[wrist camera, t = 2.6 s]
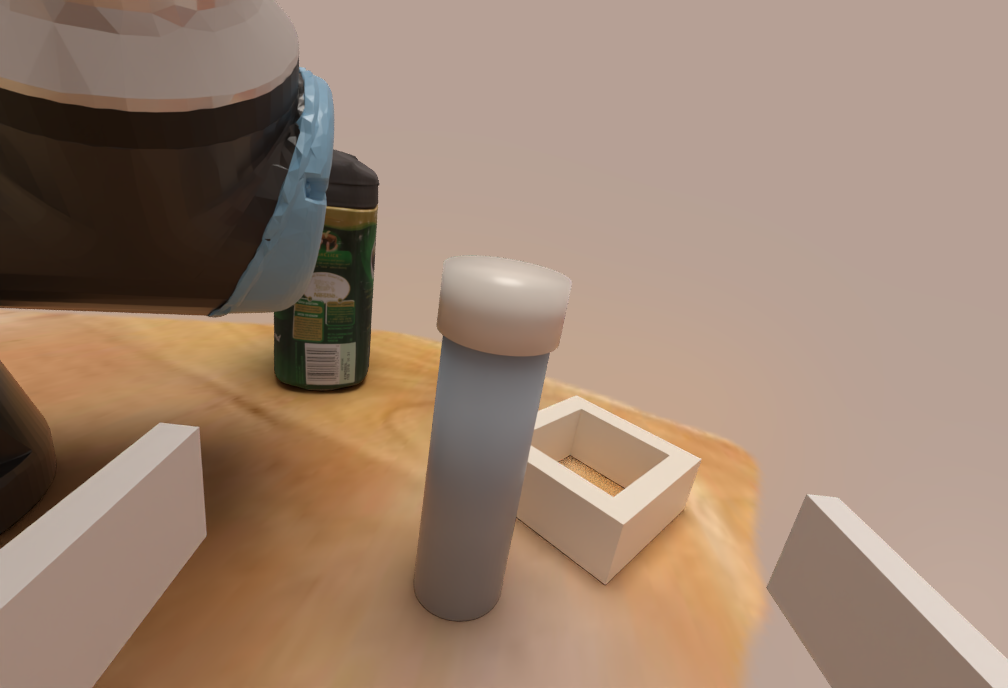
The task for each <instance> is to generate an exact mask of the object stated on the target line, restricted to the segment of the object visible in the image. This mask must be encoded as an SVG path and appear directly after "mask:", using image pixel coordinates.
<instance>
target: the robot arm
mask: <svg viewBox="0 0 1008 688" xmlns="http://www.w3.org/2000/svg"><path fill="white" fill-rule="evenodd" d="M333 142H334V107H333V99H332V93H331V90H330V88H329V86H328V84H327V83H326V82H325V81H324V80H323V79H321V78H320V77H317V76H315V75H313V74H312V73H311V72H310V71H305V68H302V67H299V42H298V35H297V32H296V30H295V27H294V25H293V23H292V22H291V19H290V18H289V16H288V15H287V14H286V13H285V12H284V10H283V9H282V8H281V7H280V6H279V5H278V3H277V2H276V1H275V0H0V308H19V309H46V310H73V311H101V312H102V311H103V312H126V313H127V312H128V313H153V314H179V315H180V314H181V315H206V316H209V317H221V316H224V315H227V314H228V313H229V314H230V313H265V312H277V311H282V310H285V309H287V308H289V307H291V306H292V305H294V304H295V303H296V302H297V301H298V300H299V299H300V298H301V297H302V296H303V295H304V293H305V291H306V290H307V288H308V285H309V283H310V281H311V278H312V275H313V272H314V268H315V265H316V261H317V257H318V253H319V248H320V243H321V238H322V233H323V228H324V221H325V214H326V207H327V201H326V193H325V192H326V190H327V188H328V183H329V176H330V171H331V166H332V157H333ZM56 466H57V465H56V457H55V452H54V446H53V441H52V436H51V432H50V428H49V426H48V424H47V422H46V420H45V418H44V417H43V415H42V414H41V413H40V411H39V410H38V409H37V407H36V406H35V405H34V404H33V402H32V401H31V400H30V398H29V397H28V396H27V394H26V393H25V392H24V391H23V389H22V388H21V387H20V385H19V384H18V383H17V381H16V380H15V379H14V377H13V376H12V375H11V374H10V372H9V371H8V370H7V368H6V367H5V366H4V364H3V363H2V362H1V360H0V534H1V533H2V532H3V531H5V530H6V529H8V528H9V527H10V526H11V525H13V524H14V523H15V522H17V521H18V520H19V519H20V518H21V517H22V516H24V515H25V514H26V513H27V512H28V511H29V510H30V509H31V508H32V507H33V506H34V505H35V504H36V503H37V502H38V501H39V500H40V499H41V497H42V496H43V495H44V494H45V492H46V491H47V489H48V488H49V486H50V484H51V483H52V480H53V478H54V475H55V472H56ZM206 536H207V531H206V517H205V502H204V488H203V473H202V459H201V444H200V430H199V427H195V426H186V425H177V424H168V423H159V424H157V425H156V426H155V427H154V428H152V429H151V430H150V431H149V432H147V433H146V434H145V435H144V436H142V437H141V438H140V439H139V440H137V441H136V442H135V443H134V444H132V445H131V446H130V447H128V448H127V449H126V450H125V451H123V452H122V453H121V454H120V455H118V456H117V457H116V458H115V459H113V460H112V461H111V462H110V463H108V464H107V465H106V466H105V467H103V468H102V469H101V470H99V471H98V472H97V473H96V474H94V475H93V476H92V477H91V478H89V479H88V480H87V481H86V482H84V483H83V484H82V485H81V486H79V487H78V488H77V489H76V490H74V491H73V492H72V493H70V494H69V495H68V496H67V497H65V498H64V499H63V500H62V501H60V502H59V503H58V504H57V505H55V506H54V507H53V508H52V509H50V510H49V511H48V512H47V513H45V514H44V515H43V516H41V517H40V518H39V519H38V520H36V521H35V522H34V523H33V524H31V525H30V526H29V527H28V528H26V529H25V530H24V531H23V532H21V533H20V534H19V535H17V536H16V537H15V538H14V539H12V540H11V541H10V542H9V543H7V544H6V545H5V546H4V547H2V548H1V549H0V688H92V687H93V686H94V685H95V683H96V682H97V681H98V679H99V678H100V677H101V675H102V674H103V673H104V671H105V670H106V669H107V667H108V666H109V665H110V663H111V662H112V661H113V659H114V658H115V657H116V655H117V654H118V653H119V651H120V650H121V649H122V647H123V646H124V645H125V643H126V642H127V641H128V639H129V638H130V637H131V635H132V634H133V633H134V631H135V630H136V629H137V627H138V626H139V625H140V623H141V622H142V621H143V619H144V618H145V617H146V615H147V614H148V613H149V612H150V610H151V609H152V608H153V606H154V605H155V604H156V602H157V601H158V600H159V598H160V597H161V596H162V594H163V593H164V592H165V590H166V589H167V588H168V586H169V585H170V584H171V582H172V581H173V580H174V578H175V577H176V576H177V574H178V573H179V572H180V570H181V569H182V568H183V566H184V565H185V564H186V562H187V561H188V560H189V558H190V557H191V556H192V554H193V553H194V552H195V550H196V549H197V548H198V546H199V545H200V544H201V542H202V541H203V540H204V538H205V537H206ZM766 588H767V590H768V591H769V593H770V594H771V596H772V597H773V599H774V600H775V602H776V603H777V605H778V606H779V608H780V610H781V611H782V613H783V614H784V616H785V617H786V619H787V620H788V622H789V623H790V625H791V626H792V628H793V629H794V630H795V632H796V634H797V635H798V637H799V638H800V640H801V641H802V643H803V645H804V646H805V648H806V649H807V651H808V652H809V654H810V655H811V657H812V658H813V660H814V661H815V663H816V664H817V666H818V667H819V669H820V670H821V672H822V674H823V675H824V676H825V678H826V680H827V681H828V683H829V684H830V686H831V687H832V688H1008V659H1007V658H1006V657H1005V656H1004V655H1003V654H1002V653H1001V652H1000V651H999V650H997V648H995V647H994V646H993V645H992V644H991V643H990V642H989V641H988V640H987V639H986V638H985V637H984V636H983V635H982V634H981V633H980V632H979V631H978V630H977V629H975V628H974V627H973V626H972V625H971V624H970V623H969V622H968V621H967V620H966V619H965V618H964V617H963V616H962V615H961V614H960V613H959V612H958V611H957V610H955V608H953V607H952V606H951V605H950V604H949V603H948V602H947V601H946V600H945V599H944V598H943V597H942V596H941V595H940V594H939V593H938V592H937V591H936V590H935V589H934V588H932V586H930V585H929V584H928V583H927V582H926V581H925V580H924V579H923V578H922V577H921V576H920V575H919V574H918V573H917V572H915V570H914V569H913V568H912V567H910V565H908V564H907V563H906V562H905V561H904V560H903V559H902V558H901V557H900V556H899V555H898V554H897V553H896V552H895V551H893V549H892V548H891V547H890V546H888V544H886V543H885V542H884V541H883V540H882V539H881V538H880V537H879V536H878V535H877V534H876V533H875V532H874V531H873V530H872V529H871V528H870V527H869V526H867V525H866V524H865V523H864V522H863V521H862V520H861V519H860V518H859V517H858V516H857V515H856V514H855V513H854V512H853V511H852V510H851V509H850V508H849V507H848V506H847V505H846V504H845V503H843V502H842V501H841V500H840V499H839V498H837V497H826V496H819V495H809V494H807V495H806V497H805V499H804V501H803V504H802V506H801V508H800V511H799V513H798V515H797V518H796V520H795V522H794V525H793V527H792V529H791V532H790V534H789V536H788V539H787V541H786V543H785V546H784V548H783V551H782V553H781V555H780V557H779V560H778V562H777V564H776V567H775V569H774V571H773V574H772V576H771V578H770V581H769V583H768V585H767V587H766Z"/></svg>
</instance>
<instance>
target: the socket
mask: <svg viewBox="0 0 1008 688" xmlns="http://www.w3.org/2000/svg"><path fill="white" fill-rule="evenodd" d="M570 455H571V456H572V457H574V458H576V459H577V460H579V461H581V462H582V463H584V464H586V465H587V466H589V467H591V468H592V469H594V470H596V471H597V472H599V473H600V474H602V475H604V476H605V477H607V478H609V479H610V480H612V481H614V482H615V483H617V484H619V485H620V486H622V487H624V488H625V489H624V490H623V491H621V492H620V493H618V494H617V495H616V496H614V497H612V496H611V495H609V494H608V493H606V492H604V491H603V490H601V489H600V488H598V487H597V486H595V485H593V484H592V483H590V482H589V481H587V480H585V479H584V478H582V477H581V476H579V475H577V474H576V473H574V472H573V471H571V470H569V469H568V468H566V467H565V466H563V465H561V464H560V463H558V462H559V461H561V460H562V459H564V458H566V457H568V456H570ZM700 462H701V459H700V458H698V457H696V456H694V455H692V454H690V453H688V452H687V451H685V450H683V449H681V448H679V447H677V446H675V445H673V444H671V443H669V442H667V441H665V440H663V439H661V438H659V437H657V436H655V435H653V434H651V433H649V432H647V431H645V430H643V429H641V428H639V427H637V426H636V425H634V424H632V423H630V422H628V421H626V420H624V419H622V418H620V417H618V416H616V415H614V414H612V413H610V412H608V411H606V410H604V409H602V408H600V407H598V406H596V405H594V404H592V403H590V402H588V401H586V400H584V399H583V398H581V397H579V396H577V395H576V396H574V397H571V398H569V399H566V400H564V401H562V402H559V403H557V404H554V405H552V406H549V407H547V408H544V409H542V410H540V411H538V413H537V418H536V422H535V427H534V432H533V437H532V442H531V447H530V452H529V457H528V462H527V466H526V471H525V476H524V481H523V486H522V491H521V496H520V501H519V506H518V510H517V515H516V517H517V518H518V519H520V520H521V521H522V522H523V523H525V524H526V525H527V526H529V527H530V528H531V529H533V530H534V531H535V532H537V533H538V534H539V535H541V536H542V537H543V538H544V539H546V540H547V541H548V542H550V543H551V544H552V545H554V546H555V547H556V548H558V549H559V550H560V551H562V552H563V553H564V554H565V555H567V556H568V557H569V558H571V559H572V560H573V561H575V562H576V563H577V564H579V565H580V566H581V567H582V568H584V569H585V570H586V571H588V572H589V573H590V574H592V575H593V576H594V577H596V578H597V579H598V580H600V581H601V582H602V583H603V584H605V585H606V584H607V583H608V582H609V581H610V580H611V579H612V578H613V577H614V576H615V575H616V574H617V573H618V572H619V571H620V570H621V569H622V568H624V567H625V566H626V565H627V564H628V563H629V562H630V561H631V560H632V559H633V558H634V557H635V556H636V555H637V554H638V553H639V552H640V551H641V550H642V549H643V548H644V547H645V546H646V545H647V544H648V543H649V542H650V541H652V540H653V539H654V538H655V537H656V536H657V535H658V534H659V533H660V532H661V531H662V530H663V529H664V528H665V527H666V526H667V525H668V524H669V523H670V522H671V521H672V520H673V519H674V518H675V517H676V516H677V515H679V514H680V513H681V512H682V511H683V510H684V508H685V505H686V502H687V499H688V496H689V494H690V491H691V488H692V485H693V482H694V479H695V477H696V474H697V471H698V468H699V465H700Z"/></svg>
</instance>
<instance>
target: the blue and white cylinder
mask: <svg viewBox="0 0 1008 688" xmlns="http://www.w3.org/2000/svg"><path fill="white" fill-rule="evenodd" d="M571 286H572V281H571V280H570V279H569V278H568V277H567V276H565V275H564V274H562V273H560V272H557V271H555V270H552V269H549V268H546V267H543V266H540V265H536V264H532V263H528V262H523V261H518V260H513V259H507V258H500V257H491V256H474V255H471V256H470V255H469V256H455V257H451V258H448V259H446V260H445V261H444V265H443V274H442V283H441V292H440V300H439V309H438V318H437V329H438V330H439V332H440V333H441V334H442V335H443V340H442V348H441V356H440V365H439V373H438V381H437V390H436V398H435V406H434V415H433V423H432V432H431V440H430V448H429V457H428V465H427V473H426V482H425V490H424V498H423V507H422V515H421V523H420V532H419V540H418V549H417V557H416V565H415V574H414V590H415V594H416V596H417V598H418V600H419V602H420V603H421V604H422V605H423V606H424V607H425V608H426V609H427V610H428V611H429V612H431V613H432V614H434V615H436V616H438V617H441V618H443V619H447V620H452V621H468V620H473V619H476V618H479V617H481V616H483V615H485V614H486V613H488V612H489V611H490V610H491V609H492V608H493V607H494V606H495V605H496V603H497V601H498V600H499V597H500V593H501V589H502V584H503V579H504V574H505V569H506V564H507V559H508V554H509V550H510V545H511V540H512V535H513V530H514V525H515V520H516V515H517V510H518V506H519V501H520V496H521V491H522V486H523V481H524V476H525V471H526V466H527V462H528V457H529V452H530V447H531V442H532V437H533V432H534V427H535V422H536V418H537V413H538V408H539V403H540V398H541V393H542V388H543V383H544V378H545V374H546V369H547V363H548V359H549V354H550V352H552V351H554V350H555V349H556V348H557V347H558V346H559V343H560V338H561V333H562V328H563V323H564V319H565V314H566V309H567V305H568V300H569V295H570V290H571Z"/></svg>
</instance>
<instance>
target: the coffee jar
mask: <svg viewBox="0 0 1008 688" xmlns="http://www.w3.org/2000/svg"><path fill="white" fill-rule="evenodd" d="M378 185H379V180H378V177H377V175H376V173H375V172H374V171H373V170H372V169H370V168H368V167H367V166H366V165H364V164H363V163H361V162H360V161H358V159H357V158H356V157H355V156H352V155H350V154H347V153H344V152H340V151H337V150H333V157H332V166H331V171H330V176H329V183H328V188H327V190H326V192H325V193H326V201H327V207H326V214H325V221H324V228H323V233H322V238H321V243H320V248H319V253H318V257H317V261H316V265H315V268H314V272H313V275H312V278H311V281H310V283H309V285H308V288H307V290H306V291H305V293H304V295H303V296H302V297H301V298H300V299H299V300H298V301H297V302H296V303H295V304H294V305H292V306H291V307H289V308H287V309H285V310H282V311H277V312H274V371H275V374H276V376H277V378H278V379H279V380H280V381H281V382H283V383H286V384H290V385H293V386H297V387H301V388H304V389H309V390H334V389H337V388H342V387H347V386H352V385H357V384H359V383H360V382H361V381H362V380H363V379H364V378H365V376H366V374H367V371H368V367H369V355H370V340H371V315H372V298H373V281H374V264H375V263H374V262H375V245H376V228H377V210H378V205H377V204H378Z"/></svg>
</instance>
